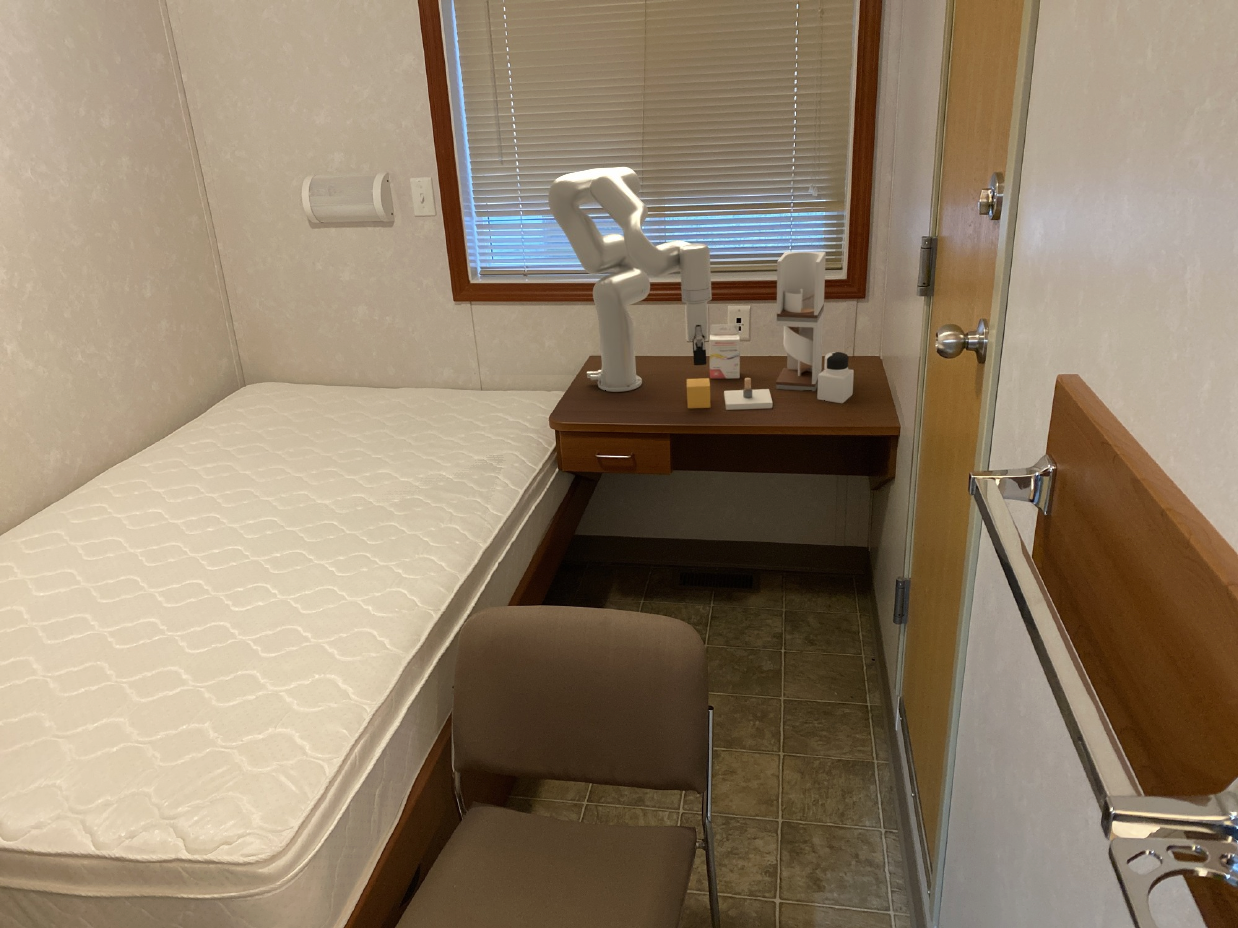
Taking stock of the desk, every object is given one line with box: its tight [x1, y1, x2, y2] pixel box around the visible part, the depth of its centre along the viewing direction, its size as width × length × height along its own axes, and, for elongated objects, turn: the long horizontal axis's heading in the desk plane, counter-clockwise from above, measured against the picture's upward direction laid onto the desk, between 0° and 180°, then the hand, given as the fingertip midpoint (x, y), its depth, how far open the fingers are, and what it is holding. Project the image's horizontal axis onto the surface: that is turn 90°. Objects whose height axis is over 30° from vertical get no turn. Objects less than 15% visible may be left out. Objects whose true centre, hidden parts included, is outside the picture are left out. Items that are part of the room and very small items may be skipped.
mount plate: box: [723, 377, 773, 411], centre depth 241 cm, size 12×10×6 cm
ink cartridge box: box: [709, 323, 741, 380], centre depth 258 cm, size 9×5×15 cm, turn 84°
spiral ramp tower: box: [775, 251, 827, 392], centre depth 245 cm, size 11×11×35 cm
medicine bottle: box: [816, 351, 855, 404], centre depth 239 cm, size 7×7×12 cm
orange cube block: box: [686, 377, 711, 409], centre depth 242 cm, size 6×6×6 cm
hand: (699, 358), depth 237 cm, fingers open, 9 cm apart
